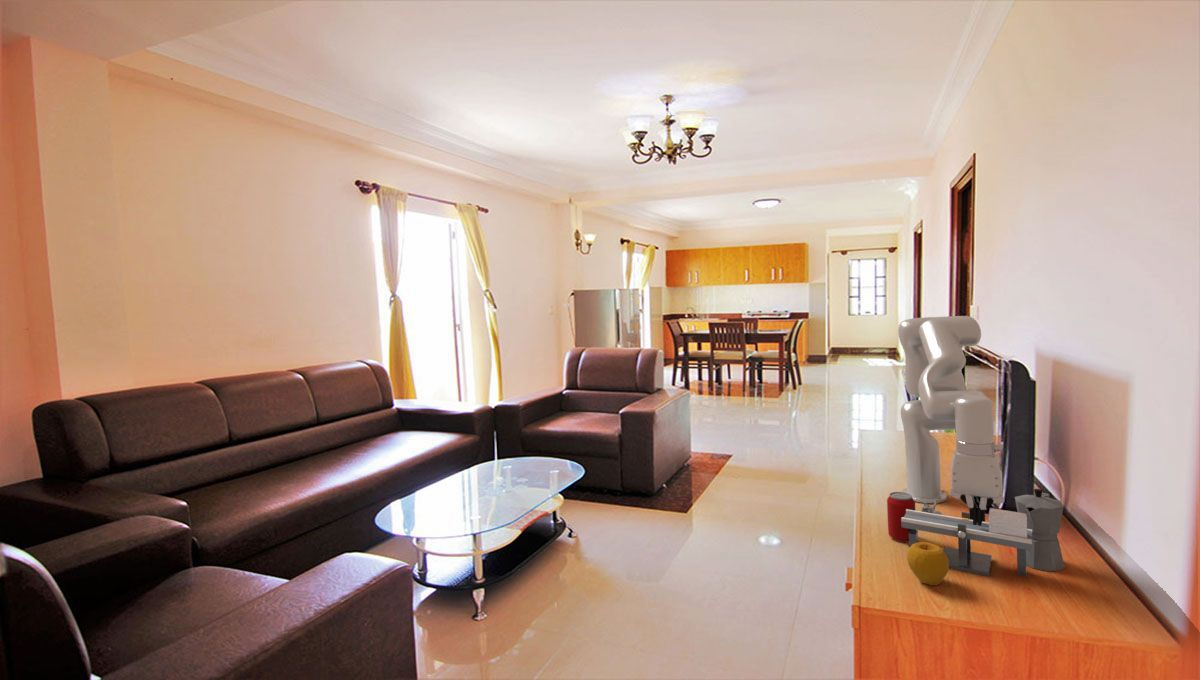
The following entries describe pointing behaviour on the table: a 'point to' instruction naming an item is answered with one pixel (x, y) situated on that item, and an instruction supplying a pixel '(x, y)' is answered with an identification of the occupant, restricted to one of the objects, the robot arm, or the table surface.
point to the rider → (1008, 523)
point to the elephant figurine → (930, 510)
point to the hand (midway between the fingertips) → (977, 523)
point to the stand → (971, 554)
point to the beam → (950, 528)
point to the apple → (928, 562)
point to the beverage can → (898, 514)
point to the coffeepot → (1042, 529)
